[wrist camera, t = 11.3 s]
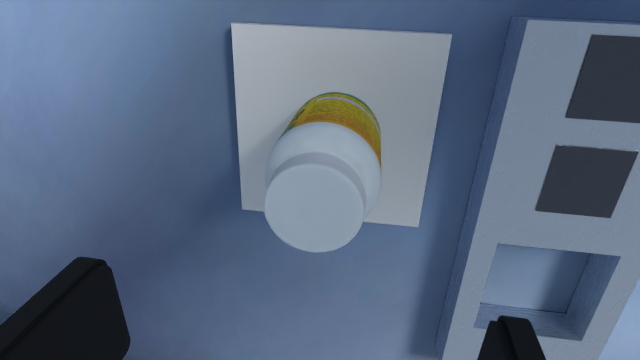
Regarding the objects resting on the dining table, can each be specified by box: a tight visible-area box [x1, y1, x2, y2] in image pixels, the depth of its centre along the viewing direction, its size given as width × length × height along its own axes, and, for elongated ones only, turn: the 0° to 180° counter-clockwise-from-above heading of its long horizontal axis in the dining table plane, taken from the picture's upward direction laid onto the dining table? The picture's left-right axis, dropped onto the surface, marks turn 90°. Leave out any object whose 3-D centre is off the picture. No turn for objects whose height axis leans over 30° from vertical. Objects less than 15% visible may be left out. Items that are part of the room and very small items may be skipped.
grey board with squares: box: [435, 16, 640, 360], centre depth 24 cm, size 24×10×3 cm, turn 178°
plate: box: [231, 22, 452, 227], centre depth 24 cm, size 12×12×1 cm
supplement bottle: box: [263, 91, 382, 253], centre depth 20 cm, size 5×5×10 cm
